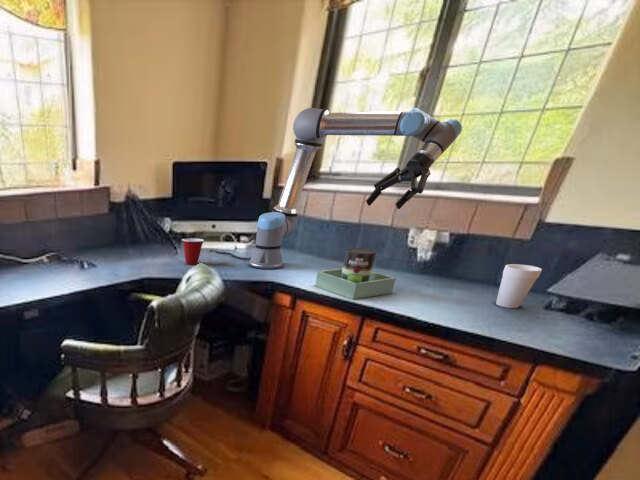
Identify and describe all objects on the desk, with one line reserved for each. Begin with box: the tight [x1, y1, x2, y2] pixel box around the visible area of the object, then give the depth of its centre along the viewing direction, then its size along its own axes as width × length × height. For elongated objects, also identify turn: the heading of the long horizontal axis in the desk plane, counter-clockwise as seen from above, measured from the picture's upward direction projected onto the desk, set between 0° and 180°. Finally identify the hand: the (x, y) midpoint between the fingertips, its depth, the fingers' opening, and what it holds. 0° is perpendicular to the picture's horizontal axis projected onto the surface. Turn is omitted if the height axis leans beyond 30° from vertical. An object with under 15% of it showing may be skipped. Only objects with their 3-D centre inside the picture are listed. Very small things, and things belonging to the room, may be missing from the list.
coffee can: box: [340, 247, 377, 283], centre depth 162 cm, size 10×10×14 cm
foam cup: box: [495, 263, 543, 309], centre depth 143 cm, size 10×9×13 cm
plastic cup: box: [181, 237, 205, 266], centre depth 208 cm, size 11×11×12 cm
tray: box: [314, 267, 397, 300], centre depth 165 cm, size 20×19×6 cm
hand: (381, 205), depth 161 cm, fingers open, 13 cm apart
